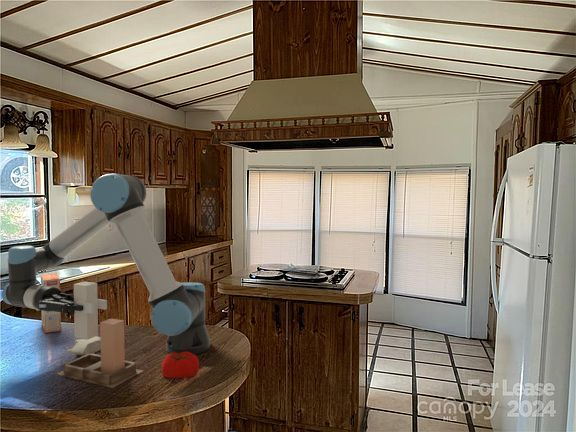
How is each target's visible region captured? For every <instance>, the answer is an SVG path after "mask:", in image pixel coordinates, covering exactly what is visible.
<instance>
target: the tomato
mask: <svg viewBox="0 0 576 432" xmlns="http://www.w3.org/2000/svg"><path fill="white" fill-rule="evenodd" d="M199 371H200V361H199V357H198V356H197V354H192V353H190V352H187V351H185V352H181V353H179V354H178V353H169V354H167V355H166V356H165V357H164V359H163V360H162V362H161V375H162V376H163V377H165V378H167V379H174V378H175V379H181V378H183V380H185V379H188V378H192V377H193V378H194V377H195V376H197V374H198V372H199Z"/></svg>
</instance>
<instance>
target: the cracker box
mask: <svg viewBox="0 0 576 432" xmlns="http://www.w3.org/2000/svg"><path fill="white" fill-rule="evenodd" d="M40 285H43V286H49V287H56V288H58V289H59V290H60V291H61V278H60V277H59V276H58V274H57V273H56V272H54V273H44V274H43V273H42V274H40ZM61 313H62V312H55V311H50V312H48V311H42V310H41V326H42V329H43V332H44V334H49V333H50V334H51V333H55V332H61V329H62V328H61V327H62V326H61V325H62V324H61V323H62V321H61V319H62V317H61V316H62V315H61Z"/></svg>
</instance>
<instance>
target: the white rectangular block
mask: <svg viewBox="0 0 576 432" xmlns="http://www.w3.org/2000/svg"><path fill="white" fill-rule="evenodd" d="M73 295H74V304H75V302H84V303H90V304H94V313H93V314H89V313H83V312H77V311H75V313H74V314H73V316H74V318H73V319H74V324H73V325H74V338H77V339H86V340H88V339H90V338H93V337H95V336H98V337H99V321H98V320H99V312H98V311H99V309H98V299H99V298H98V283H97V282H93V281H91V282H90V281H82V282H78V283H77V282H76V283H73Z"/></svg>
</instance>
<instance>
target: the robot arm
mask: <svg viewBox="0 0 576 432" xmlns="http://www.w3.org/2000/svg"><path fill="white" fill-rule="evenodd" d="M89 194H90V201H91V203H92V205H93V206H94V207H93V208H92V209H90V210H89V211H88V212H87V213H86V214H84V215H83V216H81V217H80V218H79V219H78V220H77V221H75V222H73V223H72V224H71V225H70V226H68V227H67V228H65V230H63V231H62V232H61V233H59V234H58V235H56V236H55V237H54V238H52V239H51V240H50V241H49V242H47V243H46V244H45V245H43V246H42V247H40V248H36V246H33V245H16V246H12V247H10V248H9V249H8V253H7V255H8V256H7V271H8V283H7V284H5V286H4V287H3V289H2V290H1V298H2V301H3V302H4V303H6V304H7V305H11V306H14V307H21V308H28V309H33V310H36V311H38V312H39V311H41V312H42V311H48V312H50V311H55V312H60V313H63V314H67V313H68V312H70V313H69V314H71V315H74V313H75V311H77V312H83V313H89V314H93V313H94V304H90V303H84V302H75V304H74V293H66V292H62V290H61V289H60V290H59V289H58V288H56V287H49V286H43V285H41V284H37V273H38V272H41V271H44V270H48V269H52V268H56V267H57V266H59V265H61V264H62V263H63V262H64V261H65V259H66V258H67V257H68V256H69V255H70V254H72V253H73V252H74V251H76V250H77V249H78V248H80V247H81V246H83V245H84V244H86V242H88V241H89V240H91V239H92V238H93V237H95V236H96V235H97V234H99V233H100V232H101V231H103V230H104V229H105V228H107V227H108V226H110V225H111V224H113V225H114V226H116V227H117V230H118V231H119V233H120V236H121V237H122V240H123V241H124V244H125V246H126V248H127V250H128V251H129V253H130V256H131V258H132V260H133V262H134V263H135V265H136V267H137V269H138V272H139V274H140V276H141V278H142V280H143V283H144V284H145V285H146V288H147V290H148V292H149V297H148V305H150V308H151V315H150V319H151V324H152V325H153V328H154V329H155V330H156V331H157V332H159V333H160V334H162V335H165V336H167V339H166V342H165V343H166V344H165V345H166V347H165V349H166V352H167V353H169V354H171V353H178V354H179V353H181V352H185V351H187V352H190V353H192V354H194V355H198V354H201V353H204V352H206V351H208V350H209V349H210V348H211V339H210V335H209V332H208V329H207V327H206V288H205V284H203V283H201V282H179V281H177V280H176V279H175V277H174V275H173V273H172V271H171V269H170V267H169V265H168V262H167V260H166V258H165V255H163V252H162V250H161V248H160V246H159V244H158V242H157V240H156V239H155V236H154V234H153V232H152V230H151V227H150V226H149V224H148V222H147V220H146V218H145V216H144V210H145V204H144V203H145V200H146V198H147V189H146V186H145V183H144V181H142V180H141V179H140V178H138V177H137V176H135V175H131V174H120V173H115V172H114V173H108V174H103V175H102V176H100V177H99V176H98V178H97V179H95V181H94V182H93V184H92V186H91V189H90V193H89ZM107 309H108V300H107V299H101V298H98V310H105V311H106V310H107Z"/></svg>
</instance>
